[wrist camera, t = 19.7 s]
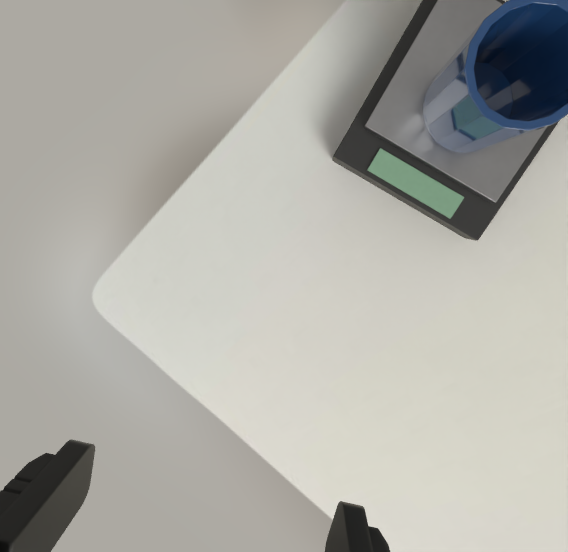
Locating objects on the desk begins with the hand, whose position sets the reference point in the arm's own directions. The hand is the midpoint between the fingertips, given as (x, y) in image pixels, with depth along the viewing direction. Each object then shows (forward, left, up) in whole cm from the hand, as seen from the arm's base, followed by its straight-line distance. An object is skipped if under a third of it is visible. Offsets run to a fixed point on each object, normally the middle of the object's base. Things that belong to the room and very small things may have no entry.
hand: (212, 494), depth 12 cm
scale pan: (+4, +23, -23) cm, 32 cm away
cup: (+4, +22, -22) cm, 31 cm away
